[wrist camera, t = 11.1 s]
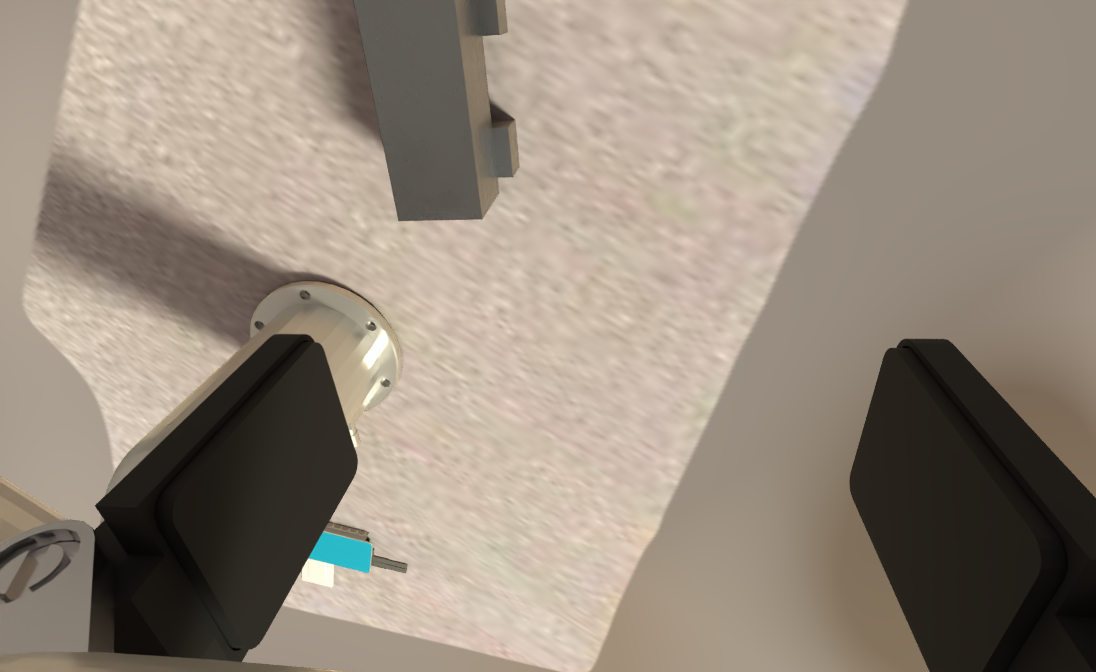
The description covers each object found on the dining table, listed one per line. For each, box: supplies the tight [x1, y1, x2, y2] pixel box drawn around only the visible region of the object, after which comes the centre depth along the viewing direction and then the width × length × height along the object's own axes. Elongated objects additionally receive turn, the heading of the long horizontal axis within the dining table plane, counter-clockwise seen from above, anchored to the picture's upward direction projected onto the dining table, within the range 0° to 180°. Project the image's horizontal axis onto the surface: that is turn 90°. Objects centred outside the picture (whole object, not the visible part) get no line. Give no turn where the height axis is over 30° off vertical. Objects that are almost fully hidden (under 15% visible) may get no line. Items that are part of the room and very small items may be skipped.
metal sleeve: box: [354, 0, 519, 221], centre depth 33 cm, size 12×7×8 cm, turn 4°
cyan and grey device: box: [302, 522, 407, 588], centre depth 62 cm, size 20×12×2 cm, turn 77°
